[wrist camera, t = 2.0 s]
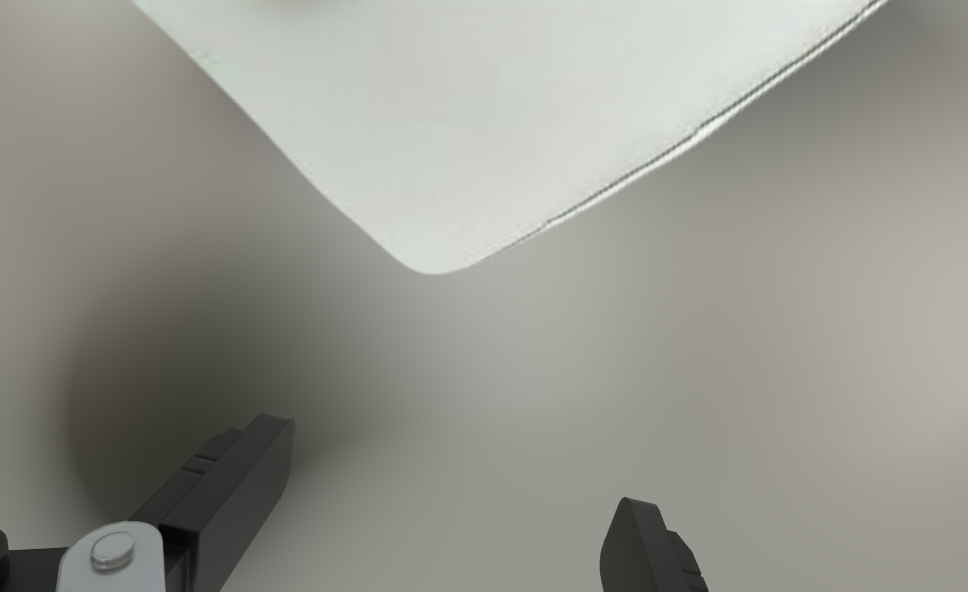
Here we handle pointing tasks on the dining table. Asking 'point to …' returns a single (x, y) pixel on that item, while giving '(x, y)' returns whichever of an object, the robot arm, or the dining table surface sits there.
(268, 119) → the dining table surface
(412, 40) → the dining table surface
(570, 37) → the dining table surface
